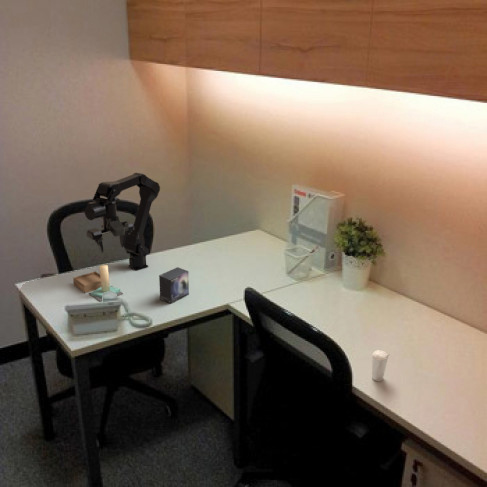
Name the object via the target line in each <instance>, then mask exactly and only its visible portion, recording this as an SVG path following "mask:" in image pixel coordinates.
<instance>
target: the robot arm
mask: <svg viewBox="0 0 487 487" xmlns="http://www.w3.org/2000/svg"><path fill="white" fill-rule="evenodd" d="M135 186H136V187H138V188H139V190H138V194H139V198H140V201H139V205H138V207H137V212H136V215H135V220H134V222H133V223H132V222H130V221H128V220H124V221H120V218H119V216H118V214H117V213H118V212H117V202H119V201H121V200H120V198H119V197H118V196H120V195H121V192H122V191H125V190H127V189H130V188H132V187H135ZM160 191H161V186H160V183H158V182H157V181H155V180H153V179H151V178H149V176H147V175H145V174H144V173H141V172H134V173H132V174H131V175H127V176H126V177H123V178H120V179H117V180H114V181H103V182H100V183H98V186H97V188H96V191H95V192H94V195H93V198H92V202H91V201H90V202H87V206H85V209H84V211H83V212H84V216H85V217H86V219H87V220H89V221H94V220H97V219H99V218H101V219H102V224H101V228H102V229H97V228H96V227H95V228H90V229H88V230H87V231H86V237H87V238H89V239H91V240H92V241H94V242H95V243H96V245H97V246H98V249H99V251H100V253H102V254H103V253H104V246H103V241H104V238H103V235H105V234H109V233H111V234H112V236H113V237H119V242H120V248H124V250H125V251H126V254H129V258H128V263H129V264H128V267H129V268H131V269H133V271H134V270H135V271H139V270H142V269H145V268H148V267H149V265H148V264H147V255H149V252H150V249H149V247H147V246H146V245H145V244H146V240H145V235H144V232H145V228H146V225H147V221H148V217H149V215H150V211H151V207H152V203H153V202H154V201H155V200H156V199H157V198H158V196H159V193H160Z"/></svg>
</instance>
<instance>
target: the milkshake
mask: <svg viewBox="0 0 487 487" xmlns="http://www.w3.org/2000/svg"><path fill="white" fill-rule="evenodd" d="M371 355H372V356H371V357H372V358H371V359H372V360H371V361H372V362H371V363H372V367H371V369H372V370H371V378H372V380H373V381H375V382H383V380H384V377H385V372H386V366H387V362H388V359H389V356H390V354H387V352H385V351H384V350H381V349H380V350H379V349H377V350H375V351H373V352H372V354H371Z"/></svg>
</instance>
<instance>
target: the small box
mask: <svg viewBox="0 0 487 487" xmlns="http://www.w3.org/2000/svg"><path fill="white" fill-rule="evenodd" d="M189 274H190V272H189V271H188V270H186V269H183V268H180V267H178V266H177V267H175V268H172V269H171V270H170V269H169V270H168V271H166V272H164V273H163V272H162V273H161V274H159V275H158V277H159V278H158V281H159V282H158V283H159V284H158V285H159V300H161V301H163V302H166V303H168V304H170V305H171V304H173V303H175V302H177V301H178V300H181V299H183V298H186V296H189V295H190V289H189V287H190V286H189V285H190V284H189V283H190V281H189Z"/></svg>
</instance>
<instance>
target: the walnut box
mask: <svg viewBox="0 0 487 487" xmlns="http://www.w3.org/2000/svg"><path fill="white" fill-rule="evenodd" d="M72 282H73V286H75V287H76V288H77V289H78V290H80V291H81V292H83V293H84V294H87V293H90V292H93V291H95V290H97V289H98V288H100V287H101V278H100V272H97V271H96V270H95V271H91V272H88V273H85V274H81V275H78V276H74V277H73V278H72Z"/></svg>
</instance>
